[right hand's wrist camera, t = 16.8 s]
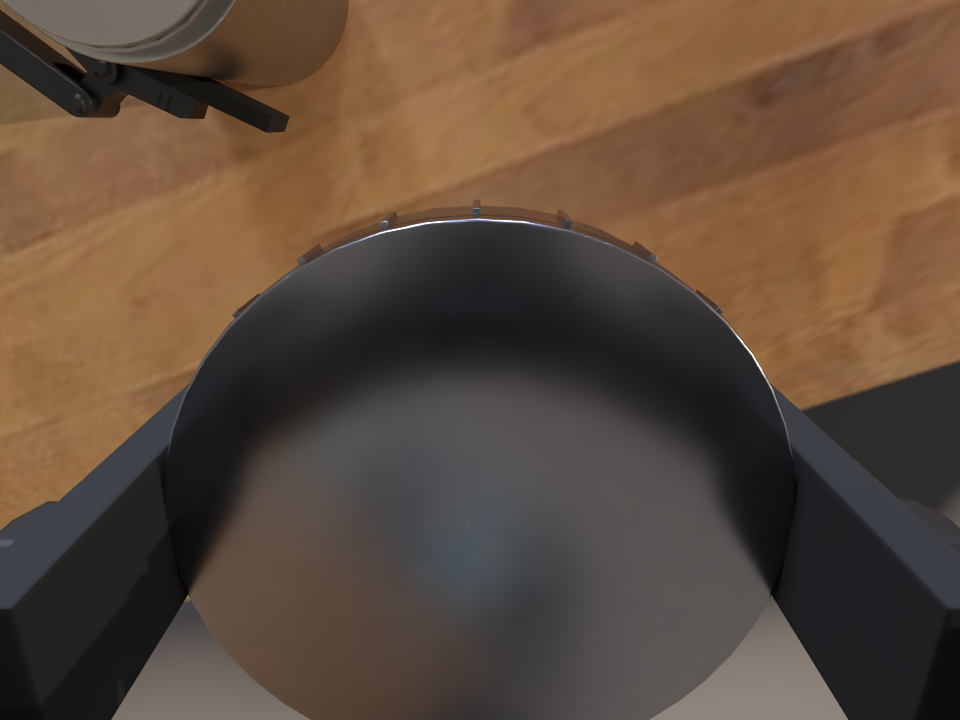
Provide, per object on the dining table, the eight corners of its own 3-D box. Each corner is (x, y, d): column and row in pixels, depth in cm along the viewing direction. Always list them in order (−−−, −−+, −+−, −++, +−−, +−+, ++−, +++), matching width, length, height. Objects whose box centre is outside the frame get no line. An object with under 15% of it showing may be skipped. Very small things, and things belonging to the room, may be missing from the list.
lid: (816, 603, 13) (859, 665, 11) (356, 749, 14) (342, 822, 13) (660, 92, 10) (693, 87, 8) (87, 345, 11) (26, 379, 9)
